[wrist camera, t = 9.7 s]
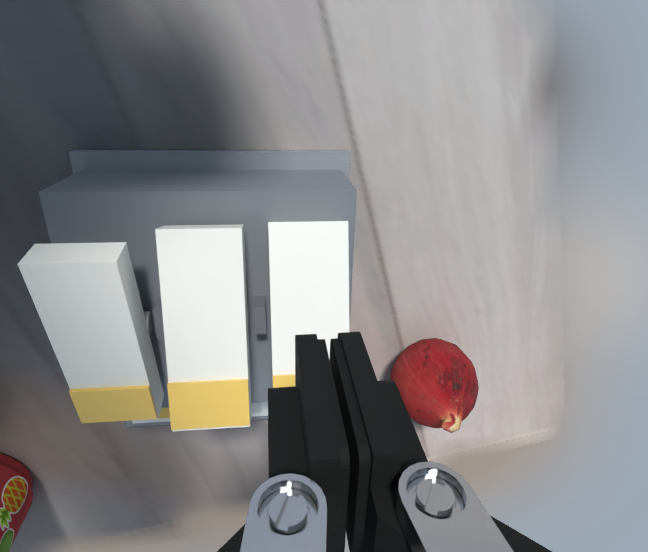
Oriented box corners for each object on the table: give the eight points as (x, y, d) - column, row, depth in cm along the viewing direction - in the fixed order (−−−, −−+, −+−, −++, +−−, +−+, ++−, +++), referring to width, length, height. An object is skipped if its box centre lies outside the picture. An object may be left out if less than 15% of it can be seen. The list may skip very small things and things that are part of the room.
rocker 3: (269, 222, 23) (268, 221, 21) (340, 222, 24) (348, 220, 21) (274, 405, 24) (274, 428, 22) (342, 401, 25) (350, 423, 22)
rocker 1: (44, 232, 20) (15, 266, 18) (132, 231, 20) (114, 264, 18) (99, 384, 26) (82, 425, 23) (167, 381, 26) (157, 421, 24)
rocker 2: (168, 223, 22) (153, 229, 20) (245, 222, 23) (241, 228, 20) (183, 405, 24) (171, 433, 22) (252, 401, 25) (249, 428, 22)
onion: (401, 309, 32) (438, 377, 25) (467, 331, 34) (520, 401, 27) (368, 371, 34) (393, 451, 27) (432, 389, 36) (472, 469, 29)
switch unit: (73, 150, 26) (3, 177, 19) (348, 150, 27) (373, 175, 21) (130, 419, 34) (95, 504, 27) (337, 407, 36) (353, 485, 29)
